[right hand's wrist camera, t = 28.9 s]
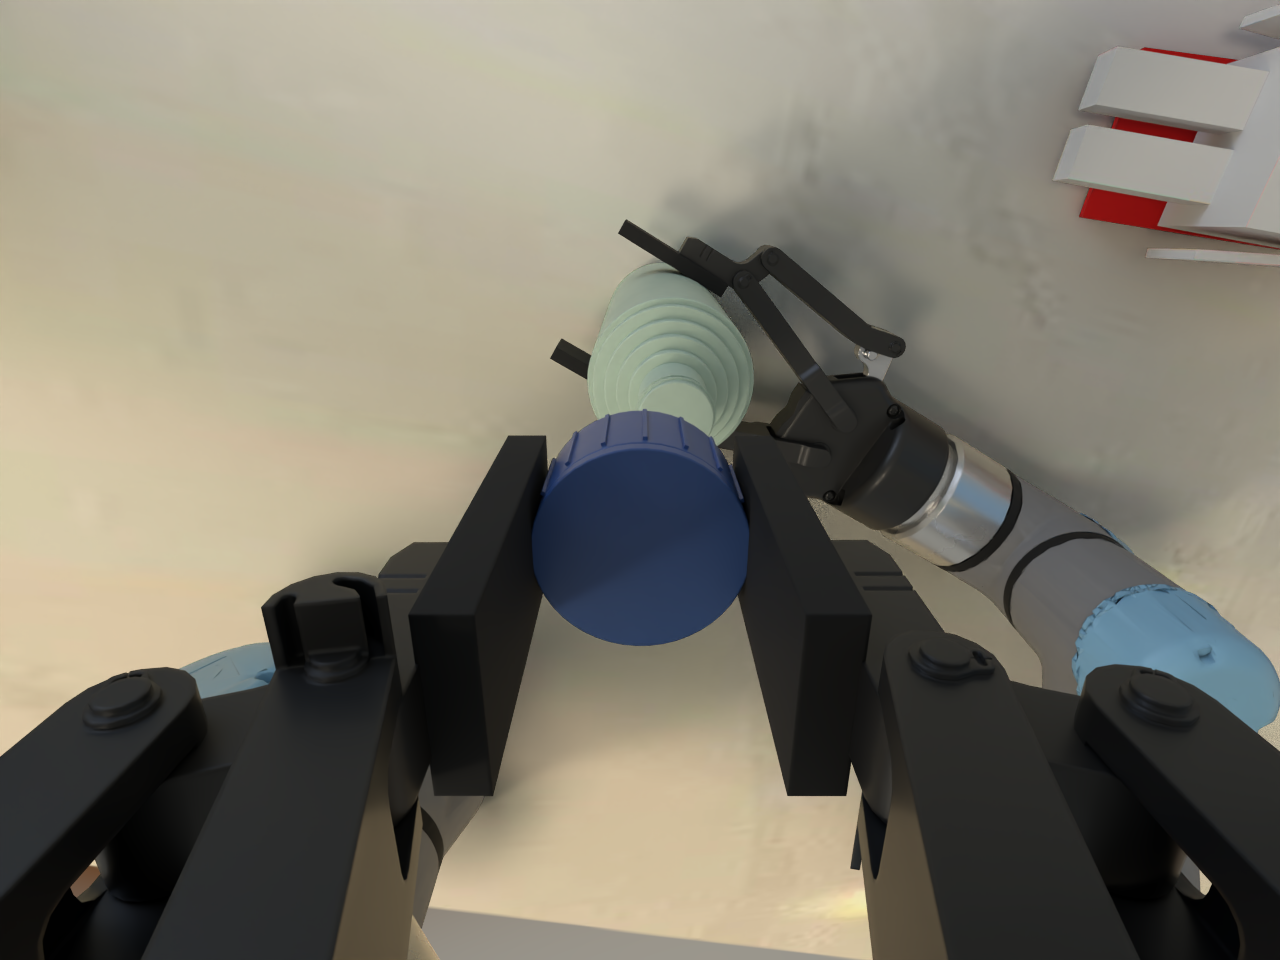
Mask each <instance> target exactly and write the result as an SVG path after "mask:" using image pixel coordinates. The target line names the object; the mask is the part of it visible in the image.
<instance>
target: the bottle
mask: <svg viewBox="0 0 1280 960" xmlns="http://www.w3.org/2000/svg"><path fill="white" fill-rule="evenodd" d="M587 384H588V394H589V398H590V402H591V405H592V408H593V411H594V413H595V415H596V417H597V419H598V420H599V419H601V418H604V417H605V415H607V414H609V415H613V414H616V413H620V412H627V411H643V409H647V411H655V412H661V413H665V414H669V415H673V416H675V417H678V418H679V417H680V416H681V417H683V418H684V420H685V421H687V422H689V423H690V424H692V425H694V426H696V427H697V428H698V429H700V430H701V431H703V432H704V433H705V434H706V435H707V436H708V437H710V436H712V437H713V438H714V441H715V444H716V445H717V446H718V445H719V444H721V443H722V442H723V441H724V440H726V439H727V438H728V437H729V436H730V435H731V434H732V433H733V432H734V431H735V429H736V428H737V427H738V425H739V424H740V423H741V421H742V419H743V417H744V415H745V414H746V412H747V409H748V407H749V404H750V401H751V397H752V393H753V385H754V370H753V363H752V358H751V355H750V351H749V349H748V347H747V344H746V342H745V340H744V338H743V337H742V335H741V333H740V332H739V330H738V329H737V328H736V326H735V325H734V324H733V322H732V321H731V320H730V318H729V317H728V316H727V314H726V313H725V312H724V310H723V309H722V307H721V306H720V305H719V303H718V302H717V301H716V299H715V298H714V297H713V295H712V294H711V293H710V291H709V290H708V289H707V288H705V287H704V286H702V285H700V284H699V283H697V282H696V281H694V280H692V279H691V278H689V277H688V276H686V275H684V274H683V273H681V272H680V271H678V270H676V269H675V268H673V267H671V266H670V265H668V264H667V263H653V264H648V265H645V266H642V267H640V268H638V269H636V270H634V271H633V272H631V273H630V274H629V275H627V276H626V277H625V278H624V279H623V280H622V281H621V283H620V284H619V285H618V287H617V288H616V290H615V292H614V294H613V296H612V298H611V301H610V304H609V307H608V309H607V312H606V315H605V318H604V321H603V324H602V326H601V329H600V332H599V335H598V338H597V340H596V343H595V346H594V349H593V352H592V355H591V358H590V362H589V367H588V379H587Z"/></svg>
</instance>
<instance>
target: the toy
mask: <svg viewBox="0 0 1280 960" xmlns="http://www.w3.org/2000/svg"><path fill="white" fill-rule="evenodd" d="M1239 28H1240V29H1244V30H1247V31H1251V32H1254V33H1258V34H1262V35H1265V36H1269V37H1273V38H1276V39H1280V4H1278V5H1276V6H1273V7H1270V8H1267V9H1264V10H1262V11H1259V12H1256V13H1253V14H1250V15H1248V16H1245V17H1244V19H1243V21H1242V23H1241V25H1240V27H1239ZM1078 110H1079V111H1085V112H1091V113H1097V114H1102V115H1108V116H1114V117H1115V120H1114V122H1113V125H1112V128H1105V127H1100V126H1094V125H1085V126H1081V127H1078V128H1074V129H1071V131H1070V134H1069V136H1068V139H1067V142H1066V144H1065V147H1064V150H1063V153H1062V155H1061V158H1060V161H1059V163H1058V166H1057V169H1056V172H1055V174H1054V177H1053V180H1052V181H1057V182H1062V183H1068V184H1073V185H1079V186H1084V187H1090V188H1089V191H1088V194H1087V196H1086V199H1085V202H1084V205H1083V207H1082V210H1081V213H1080V216H1079V217H1082V218H1088V219H1094V220H1100V221H1106V222H1112V223H1119V224H1125V225H1131V226H1137V227H1143V228H1150V229H1156V230H1162V231H1168V232H1174V233H1180V234H1187V235H1193V236H1199V237H1205V238H1211V239H1217V240H1224V241H1230V242H1236V243H1242V244H1248V245H1255V246H1261V247H1267V248H1273V249H1279V250H1280V47H1278V48H1274V49H1271V50H1268V51H1265V52H1262V53H1259V54H1256V55H1253V56H1250V57H1247V58H1244V59H1241V60H1235V59H1227V58H1220V57H1212V56H1205V55H1197V54H1190V53H1182V52H1175V51H1167V50H1160V49H1153V48H1145V47H1144V48H1142V49H1140V50H1138V49H1132V48H1126V47H1120V46H1117V47H1115V48H1113V49H1111V50H1109V51H1106V52H1104V53H1102V54H1100V55H1098V57H1097V60H1096V63H1095V66H1094V68H1093V71H1092V74H1091V76H1090V79H1089V82H1088V85H1087V87H1086V90H1085V93H1084V95H1083V98H1082V101H1081V104H1080V106H1079V109H1078ZM1145 258H1157V259H1172V260H1186V261H1201V262H1215V263H1230V264H1244V265H1259V266H1273V267H1280V255H1278V254H1264V253H1249V252H1234V251H1219V250H1205V249H1173V248H1148V249H1147V253H1146V256H1145Z"/></svg>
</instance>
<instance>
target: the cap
mask: <svg viewBox="0 0 1280 960" xmlns="http://www.w3.org/2000/svg"><path fill="white" fill-rule="evenodd" d="M540 495H542V498H541V501H540V504H539V507H538V510H537V513H536V516H535V519H534V522H533V526H532V531H531V536H532V553H533V567H534V575H535V577H536V580H537V582H538V585H539V587H540V588H541V590H542V592H543V594H544V596H545V597H546V599H547V600H548V601H549V603H550V604H551V605H552V606H553V608H554V609H555V610H556V611H557V612H558V613H559V614H560V615H561V616H562V617H563V618H565V619H566V620H567V621H568V622H570V623H571V624H572V625H574V626H575V627H577V628H578V629H580V630H582V631H583V632H585V633H587V634H590V635H592V636H594V637H596V638H599V639H602V640H605V641H608V642H613V643H617V644H622V645H633V646H651V645H658V644H665V643H669V642H673V641H677V640H680V639H682V638H685V637H688V636H690V635H692V634H694V633H696V632H698V631H700V630H702V629H703V628H705V627H706V626H708V625H709V624H711V623H712V622H714V621H715V620H716V619H717V618H718V617H719V616H721V615H722V614H723V613H724V612H725V610H726V609H727V608H728V607H729V606H730V605H731V604H732V602H733V601H734V599H735V598H736V596H737V595H738V594H739V592H740V590H741V588H742V586H743V584H744V582H745V579H746V575H747V560H748V545H749V524H748V520H747V516H746V513H745V511H744V508H743V505H742V503H743V502H745V500H744V497H743V495H742V492H741V489H740V486H739V483H738V480H737V477H736V474H735V472H734V469H733V466H732V464H731V465H728V462H727V460H726V459H725V457H724V455H723V453H722V452H721V450H720V449H719V448H718V447H717V445H716V444H715V441H714V438H713V437H712V436H710V437H708V436H707V435H706V434H705V433H704V432H703V431H701V430H700V429H698V428H697V427H696V426H694V425H692V424H690V423H689V422H687V421H685V420H684V418H683V417H681V416H680V417H679V418H678V417H675V416H673V415H669V414H665V413H661V412H655V411H647V409H643V411H627V412H620V413H616V414H613V415H609V414H607V415H605V417H604V418H601V419H599V420H597V421H595V422H593V423H591V424H589V425H588V426H586V427H584V428H583V429H582V430H580V431H579V432H577V431H576V432H574V433H573V436H572V438H571V439H570V440H569V441H568V442H567V443H566V445H565V446H564V447H563V449H562V450H561V451H560V453H559V454H558V456H557V458H556V459H554V458H553V459H552V461H551V464H550V467H549V470H548V473H547V476H546V479H545V481H544V484H543V487H542V490H541V493H540Z"/></svg>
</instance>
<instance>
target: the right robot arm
mask: <svg viewBox="0 0 1280 960" xmlns="http://www.w3.org/2000/svg"><path fill="white" fill-rule="evenodd" d="M733 469H734V472H735V474H736V477H737V480H738V483H739V486H740V489H741V492H742V495H743V497H744V500H745V502H743V503H742V505H743V508H744V511H745V513H746V516H747V520H748V524H749V545H748V560H747V575H746V579H745V582H744V584H743V586H742V588H741V590H740V592H739V594H738V597H739V601H740V606H741V610H742V614H743V618H744V622H745V626H746V630H747V634H748V638H749V642H750V646H751V650H752V654H753V658H754V662H755V666H756V670H757V674H758V678H759V682H760V686H761V691H762V695H763V699H764V703H765V707H766V711H767V715H768V719H769V723H770V727H771V731H772V735H773V739H774V743H775V747H776V751H777V755H778V759H779V763H780V767H781V771H782V776H783V780H784V784H785V788H786V792H787V796H846V794H847V788H848V781H849V774H850V767H851V762H852V765H853V768H854V770H855V773H856V776H857V778H858V781H859V784H860V786H861V789H862V796H861V802H860V809H859V815H858V822H857V828H856V835H855V841H854V847H853V854H852V861H851V868H850V869H856V870H860V865H861V860H862V868H863V877H864V885H865V894H866V903H867V912H868V920H869V929H870V938H871V947H872V955H873V960H1280V751H1279V750H1277V749H1276V748H1275V747H1274V746H1272V745H1271V744H1270V743H1269V742H1268V741H1266V740H1265V739H1264V738H1263V737H1261V736H1260V735H1259V734H1258V733H1256V732H1255V731H1254V730H1253V729H1252V728H1250V727H1249V726H1248V725H1247V724H1245V723H1244V722H1243V721H1242V720H1241V719H1239V718H1238V717H1237V716H1236V715H1234V714H1233V713H1232V712H1231V711H1230V710H1228V709H1227V708H1226V707H1225V706H1223V705H1222V704H1221V703H1220V702H1218V701H1217V700H1216V699H1214V698H1213V697H1211V696H1210V695H1208V694H1207V693H1205V692H1203V691H1202V690H1200V689H1199V688H1197V687H1196V686H1194V685H1192V684H1190V683H1188V682H1185V681H1183V680H1181V679H1178V678H1176V677H1174V676H1173V675H1171V674H1169V673H1166V672H1163V671H1160V670H1157V669H1155V670H1152V668H1148V667H1143V666H1133V665H1121V664H1112V665H1106V666H1101V667H1096V668H1095V669H1094V670H1093V671H1091V672H1090V673H1089V674H1088V675H1087V676H1086V678H1085V681H1084V685H1083V688H1082V692H1081V695H1080V696H1079V695H1074V694H1069V693H1064V692H1059V691H1054V690H1049V689H1044V688H1038V687H1033V686H1029V685H1025V684H1021V683H1017V682H1013V681H1010V680H1009V678H1008V675H1007V673H1006V671H1005V669H1004V668H1003V666H1002V665H1001V664H1000V663H999V661H998V660H997V659H996V657H995V656H994V655H993V654H991V653H990V652H988V651H987V650H985V649H984V648H982V647H981V646H979V645H978V644H977V643H974V642H972V641H969V640H967V639H964V638H962V637H959V636H957V635H954V634H949V633H945V632H944V631H943V629H942V628H941V626H940V625H939V624H938V622H937V621H936V619H935V618H934V616H933V615H932V614H931V612H930V611H929V609H928V608H927V607H926V605H925V604H924V602H923V601H922V599H921V598H920V597H919V595H918V594H917V592H916V591H913V589H912V588H913V587H912V585H911V584H910V582H909V581H908V580H907V578H906V577H905V576H903V575H902V571H901V570H900V568H899V567H898V565H897V564H896V563H895V561H894V560H893V558H892V557H891V556H890V555H889V554H888V553H886V552H885V551H883V550H882V549H880V548H878V547H877V546H875V545H874V544H872V543H871V542H869V541H868V540H830V538H829V536H828V535H827V533H826V531H825V529H824V527H823V526H822V524H821V522H820V520H819V519H818V517H817V515H816V513H815V511H814V510H813V508H812V506H811V504H810V502H809V501H808V499H807V497H806V495H805V494H804V492H803V490H802V488H801V486H800V485H799V483H798V481H797V479H796V478H795V476H794V474H793V472H792V470H791V469H790V467H789V465H788V463H787V461H786V460H785V458H784V456H783V454H782V453H781V451H780V449H779V447H778V445H777V444H776V442H775V440H774V438H773V437H772V436H734V455H733ZM547 473H548V465H547V446H546V436H508V437H507V439H506V441H505V443H504V444H503V446H502V448H501V450H500V452H499V453H498V455H497V457H496V459H495V461H494V462H493V464H492V466H491V468H490V469H489V471H488V473H487V475H486V477H485V478H484V480H483V482H482V484H481V486H480V487H479V489H478V491H477V493H476V494H475V496H474V498H473V500H472V502H471V503H470V505H469V507H468V509H467V511H466V512H465V514H464V516H463V518H462V519H461V521H460V523H459V525H458V527H457V528H456V530H455V532H454V534H453V535H452V537H451V539H450V541H449V542H414V543H412V544H411V545H409V546H407V547H406V548H404V549H403V550H401V551H400V552H398V553H397V554H395V555H394V556H392V557H391V558H390V559H389V560H388V562H387V563H386V565H385V566H384V568H383V569H382V570H381V572H380V573H379V577H378V578H377V577H375V576H371V575H367V574H363V573H359V572H337V573H331V574H325V575H319V576H314V577H311V578H308V579H305V580H302V581H299V582H296V583H294V584H291V585H289V586H287V587H286V588H284V589H282V590H281V591H279V592H277V593H275V594H274V595H272V596H271V597H270V598H269V600H268V601H267V602H266V603H265V604H264V605H263V606H262V607H261V609H262V613H263V617H264V622H265V626H266V630H267V635H268V639H269V643H270V647H271V652H272V656H273V660H274V664H275V669H276V670H275V672H274V674H273V677H272V679H271V681H270V683H269V684H267V685H264V686H260V687H256V688H252V689H247V690H242V691H237V692H232V693H227V694H222V695H217V696H212V697H207V698H202V699H201V697H200V693H199V690H198V686H197V683H196V679H195V678H194V677H192V676H191V675H190V674H189V673H188V672H186V671H185V670H180V669H174V668H169V667H162V668H150V669H140V670H135V671H130V673H123V674H119V675H116V676H113V677H111V678H109V679H108V680H106V681H104V682H101V683H99V684H97V685H95V686H92V687H90V688H88V689H86V690H85V691H83V692H82V693H80V694H79V695H77V696H76V697H74V698H73V699H71V700H70V701H68V702H67V703H65V704H64V705H63V706H61V707H60V708H59V709H58V710H56V711H55V712H54V713H53V714H52V715H50V716H49V717H48V718H47V719H46V720H44V721H43V722H42V723H41V724H39V725H38V726H37V727H36V728H35V729H33V730H32V731H31V732H30V733H29V734H27V735H26V736H25V737H24V738H22V739H21V740H20V741H19V742H18V743H16V744H15V745H14V746H13V747H11V748H10V749H9V750H8V751H7V752H5V753H4V754H3V755H2V756H1V757H0V960H407V957H408V948H409V940H410V931H411V922H412V913H413V905H414V896H415V887H416V878H417V869H418V861H419V852H420V843H421V834H422V826H423V823H422V816H421V809H420V802H419V796H418V794H419V791H420V788H421V786H422V783H423V780H424V778H425V775H426V772H427V770H428V767H429V764H430V771H431V777H432V784H433V791H434V796H493V794H494V790H495V785H496V781H497V777H498V773H499V769H500V765H501V761H502V757H503V753H504V749H505V745H506V741H507V737H508V733H509V729H510V725H511V721H512V717H513V713H514V709H515V705H516V700H517V696H518V692H519V688H520V684H521V680H522V676H523V672H524V668H525V664H526V660H527V656H528V652H529V648H530V644H531V640H532V636H533V632H534V628H535V624H536V620H537V615H538V611H539V607H540V603H541V599H542V595H543V592H542V590H541V588H540V587H539V585H538V582H537V580H536V577H535V575H534V567H533V553H532V536H531V531H532V526H533V522H534V519H535V516H536V513H537V510H538V507H539V504H540V501H541V498H542V495H540V493H541V490H542V487H543V484H544V481H545V479H546V476H547ZM1187 856H1188V857H1189V858H1190V859H1191V860H1192V862H1193V863H1194V864H1195V865H1196V866H1197V867H1198V868H1199V869H1200V870H1201V872H1202V873H1203V874H1204V875H1205V876H1206V877H1207V878H1208V879H1209V881H1210V882H1211V883H1212V885H1211V887H1210V890H1209V892H1208V893H1207V894H1206V895H1204V894H1202V893H1201V892H1200V891H1199V890H1198V889H1197V888H1196V887H1195V886H1193V885H1192V883H1191V882H1190V881H1189V880H1188V879H1187V878H1186V876H1185V875H1184V874H1183V873H1182V872H1181V870H1182V868H1183V865H1184V863H1185V860H1186V858H1187ZM94 859H95V861H96V863H97V866H98V868H99V871H100V873H101V874H100V875H99V876H98V878H97V879H96V880H95V881H94V882H93V884H92V885H91V886H90V887H89V888H88V889H87V890H85V891H84V892H83V893H82V894H81V895H80V896H78V897H77V898H76V897H75V896H74V895H73V893H72V890H71V888H70V887H71V886H72V884H73V883H74V882H75V881H76V880H77V879H78V878H79V876H80V875H81V874H82V873H83V872H84V871H85V870H86V869H87V867H88V866H89V865H90V864H91V863H92V862H93V861H94Z"/></svg>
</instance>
